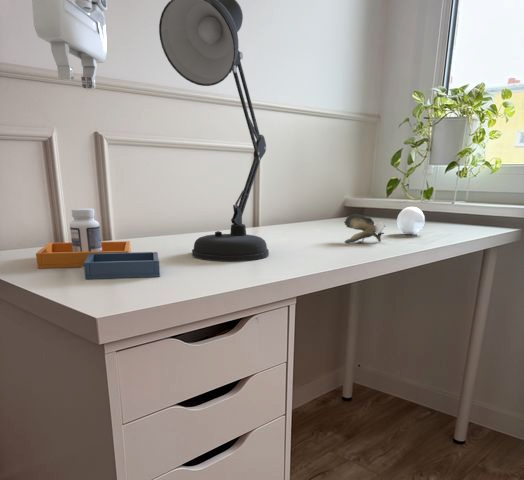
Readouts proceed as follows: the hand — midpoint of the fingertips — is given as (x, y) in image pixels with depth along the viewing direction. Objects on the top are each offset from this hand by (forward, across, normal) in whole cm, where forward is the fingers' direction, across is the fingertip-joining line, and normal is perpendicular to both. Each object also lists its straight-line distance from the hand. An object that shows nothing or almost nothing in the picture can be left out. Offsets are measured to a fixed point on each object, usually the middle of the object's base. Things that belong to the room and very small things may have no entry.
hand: (78, 84), depth 82 cm
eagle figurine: (+29, +39, -53) cm, 72 cm away
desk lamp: (+29, +15, -22) cm, 40 cm away
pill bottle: (+29, +6, +4) cm, 30 cm away
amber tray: (+29, +6, +4) cm, 30 cm away
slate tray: (+29, -4, -6) cm, 30 cm away
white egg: (+29, +57, -69) cm, 94 cm away
